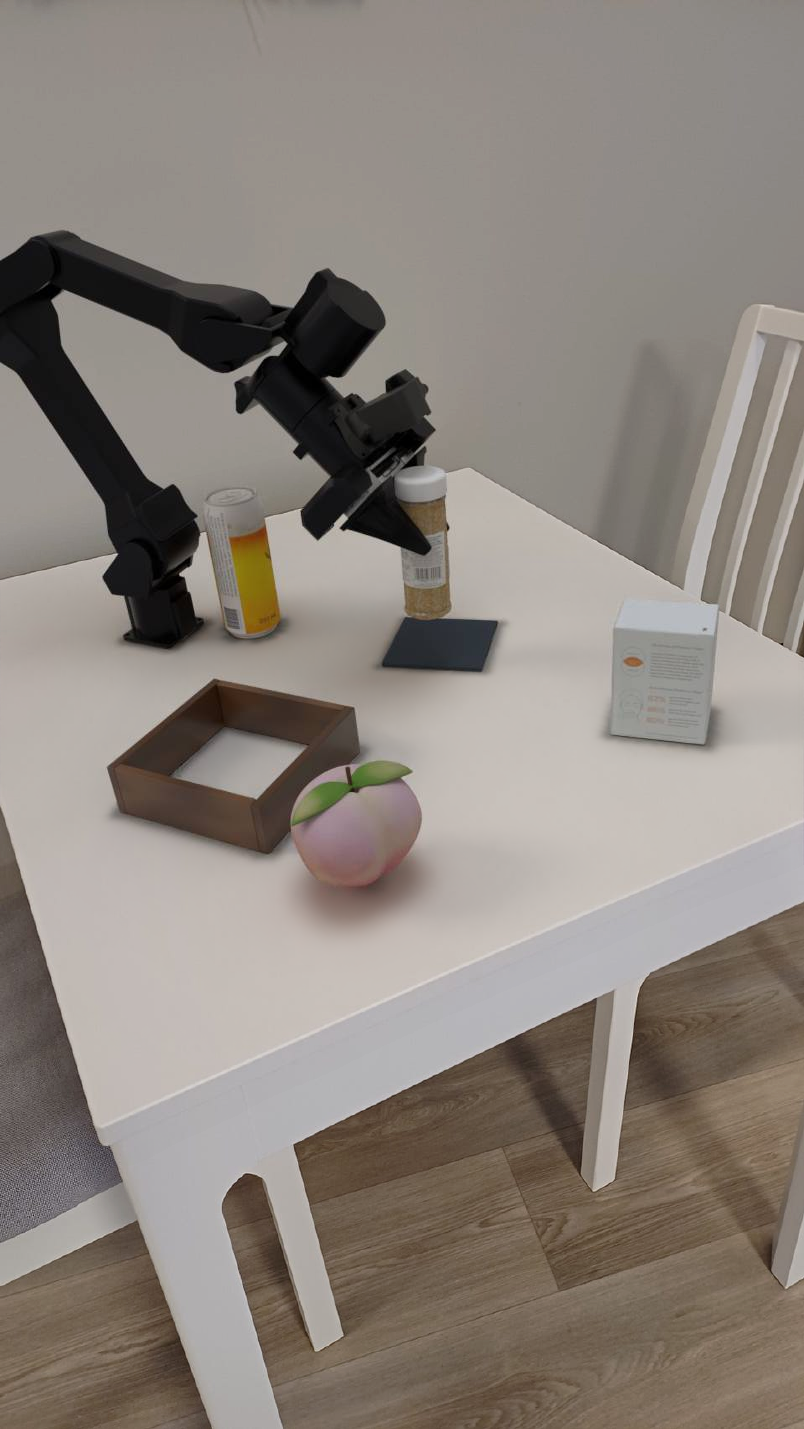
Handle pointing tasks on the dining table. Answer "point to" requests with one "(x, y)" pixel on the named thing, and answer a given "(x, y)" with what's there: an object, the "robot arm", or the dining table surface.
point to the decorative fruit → (356, 822)
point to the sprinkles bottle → (430, 573)
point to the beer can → (241, 560)
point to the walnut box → (220, 812)
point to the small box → (663, 669)
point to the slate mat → (441, 644)
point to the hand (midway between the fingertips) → (437, 542)
